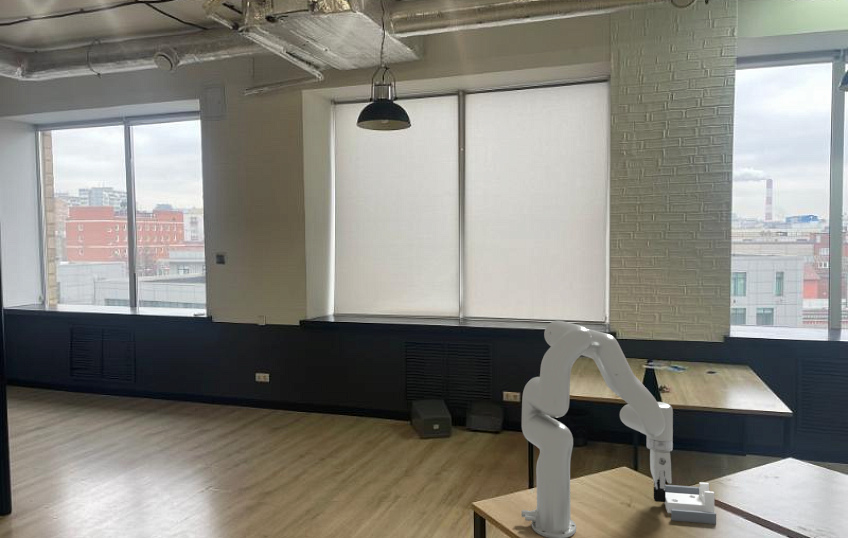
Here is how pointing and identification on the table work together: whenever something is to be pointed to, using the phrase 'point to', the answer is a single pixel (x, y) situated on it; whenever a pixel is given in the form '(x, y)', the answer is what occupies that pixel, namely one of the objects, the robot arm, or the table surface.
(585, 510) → the table surface
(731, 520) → the table surface
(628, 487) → the table surface
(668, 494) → the bracket
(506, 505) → the table surface
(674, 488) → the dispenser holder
